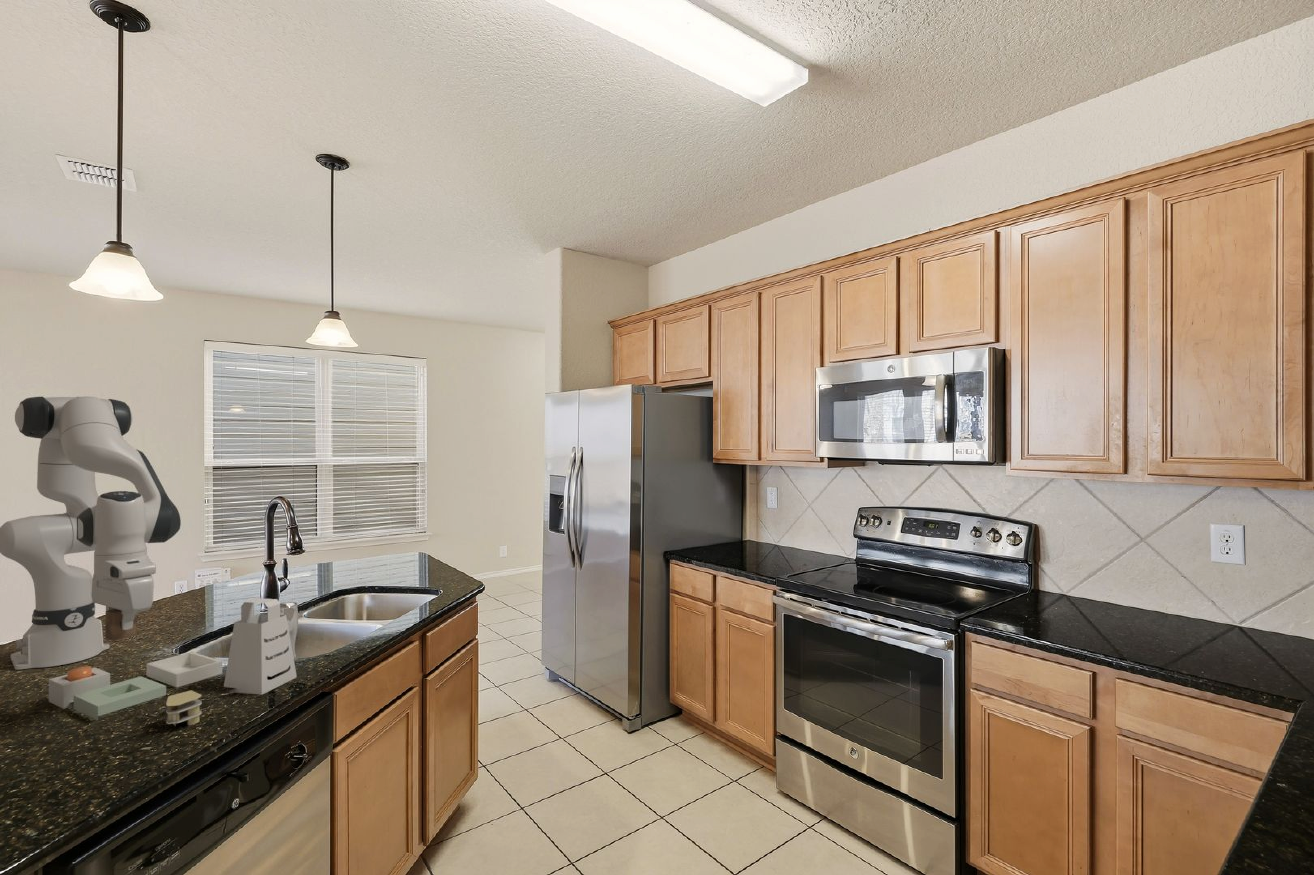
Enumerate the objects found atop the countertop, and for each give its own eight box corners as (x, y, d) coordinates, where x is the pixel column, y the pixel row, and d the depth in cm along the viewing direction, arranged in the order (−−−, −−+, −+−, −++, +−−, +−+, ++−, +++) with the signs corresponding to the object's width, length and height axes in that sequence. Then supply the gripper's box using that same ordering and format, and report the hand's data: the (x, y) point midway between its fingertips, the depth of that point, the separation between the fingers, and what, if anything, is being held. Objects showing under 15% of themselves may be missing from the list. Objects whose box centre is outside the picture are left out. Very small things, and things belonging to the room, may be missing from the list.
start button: (64, 684, 137) (64, 671, 137) (87, 678, 141) (87, 665, 141) (71, 687, 135) (71, 674, 135) (95, 681, 139) (95, 668, 139)
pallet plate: (73, 709, 132) (73, 695, 132) (140, 689, 143) (140, 676, 143) (97, 720, 127) (97, 706, 127) (166, 699, 137) (166, 685, 137)
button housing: (48, 701, 136) (48, 679, 136) (94, 688, 143) (94, 667, 143) (63, 708, 132) (63, 685, 132) (110, 695, 139) (110, 673, 139)
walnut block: (105, 637, 134) (105, 610, 134) (127, 632, 138) (128, 606, 138) (113, 640, 132) (113, 613, 132) (136, 635, 136) (136, 608, 136)
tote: (146, 680, 148) (146, 663, 148) (191, 667, 157) (191, 651, 157) (176, 691, 141) (176, 674, 141) (222, 677, 150) (222, 661, 150)
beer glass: (304, 659, 162) (304, 602, 162) (280, 668, 156) (280, 609, 156) (285, 656, 165) (285, 600, 165) (260, 665, 158) (260, 607, 158)
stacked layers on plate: (148, 725, 125) (149, 698, 125) (201, 710, 132) (201, 685, 132) (161, 740, 119) (161, 712, 119) (216, 724, 126) (216, 697, 126)
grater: (260, 674, 152) (260, 594, 152) (296, 677, 150) (296, 596, 150) (222, 691, 141) (222, 605, 142) (261, 694, 140) (261, 607, 140)
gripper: (82, 563, 137) (82, 624, 137) (124, 572, 127) (124, 638, 127) (117, 558, 143) (117, 617, 143) (160, 566, 133) (160, 629, 133)
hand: (120, 627), depth 135 cm, fingers closed on walnut block, 4 cm apart
